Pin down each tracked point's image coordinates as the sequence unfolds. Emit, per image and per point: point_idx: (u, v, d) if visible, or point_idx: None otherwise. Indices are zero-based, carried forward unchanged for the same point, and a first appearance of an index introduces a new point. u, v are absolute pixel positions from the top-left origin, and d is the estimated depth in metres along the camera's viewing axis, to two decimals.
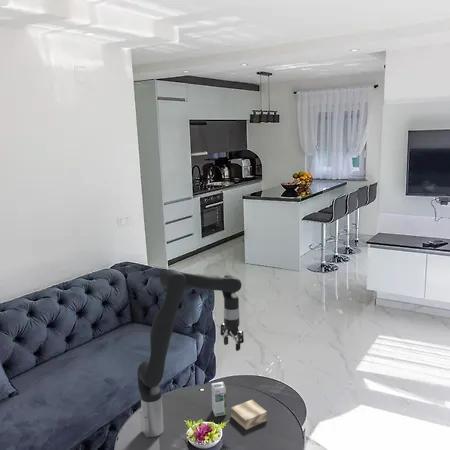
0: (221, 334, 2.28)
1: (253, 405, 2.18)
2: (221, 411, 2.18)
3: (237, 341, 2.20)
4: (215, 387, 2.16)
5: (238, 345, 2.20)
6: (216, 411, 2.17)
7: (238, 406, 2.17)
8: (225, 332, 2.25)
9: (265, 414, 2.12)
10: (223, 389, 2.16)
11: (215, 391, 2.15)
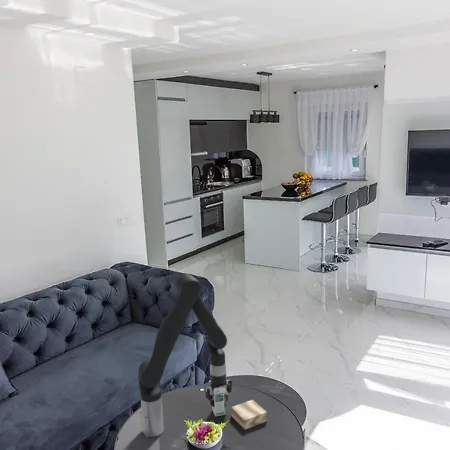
0: (209, 399, 2.15)
1: (254, 405, 2.18)
2: (221, 411, 2.18)
3: (227, 391, 2.20)
4: None
5: (227, 395, 2.21)
6: (216, 411, 2.17)
7: (238, 406, 2.17)
8: None
9: (265, 414, 2.12)
10: (223, 389, 2.16)
11: (215, 391, 2.15)
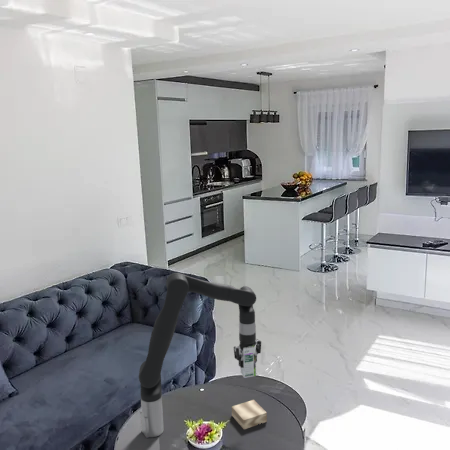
0: (239, 359, 2.05)
1: (254, 405, 2.18)
2: (250, 373, 2.08)
3: None
4: (244, 347, 2.06)
5: (256, 356, 2.11)
6: (245, 372, 2.07)
7: (239, 405, 2.18)
8: None
9: (265, 415, 2.12)
10: (253, 349, 2.06)
11: (244, 351, 2.05)
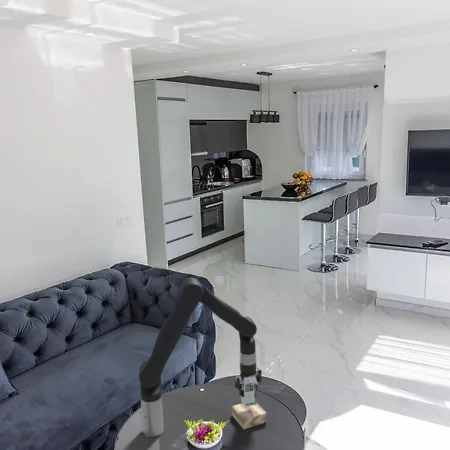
0: (239, 388, 2.08)
1: (254, 405, 2.17)
2: (251, 402, 2.11)
3: (256, 381, 2.13)
4: None
5: None
6: (246, 401, 2.10)
7: (239, 405, 2.18)
8: None
9: (265, 415, 2.11)
10: (253, 378, 2.09)
11: (245, 381, 2.08)
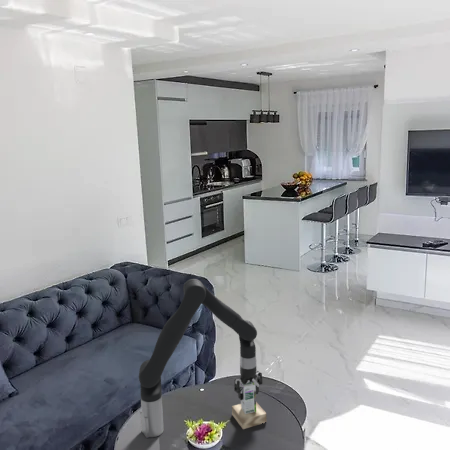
0: (238, 392, 2.08)
1: None
2: (251, 409, 2.11)
3: (258, 383, 2.14)
4: (245, 385, 2.09)
5: (258, 387, 2.15)
6: (246, 409, 2.10)
7: (239, 405, 2.18)
8: None
9: (264, 416, 2.11)
10: (253, 386, 2.09)
11: (245, 389, 2.08)
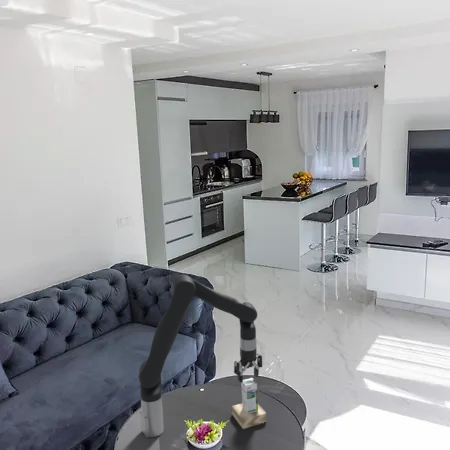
0: (238, 374, 2.06)
1: None
2: (253, 408, 2.12)
3: (258, 366, 2.12)
4: (246, 384, 2.10)
5: None
6: (248, 408, 2.11)
7: (239, 405, 2.18)
8: (245, 367, 2.07)
9: (264, 415, 2.12)
10: (255, 385, 2.10)
11: (247, 388, 2.09)
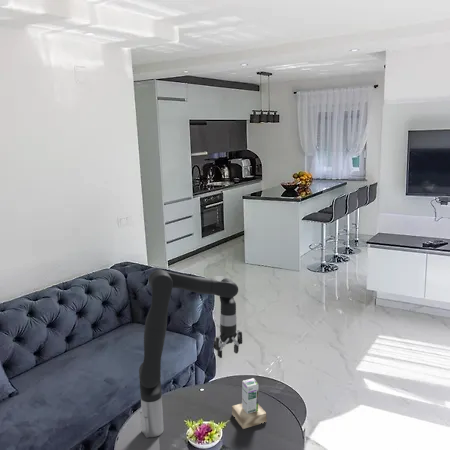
0: (217, 349, 2.08)
1: None
2: (253, 409, 2.12)
3: (238, 343, 2.14)
4: (248, 385, 2.09)
5: (238, 346, 2.15)
6: (248, 409, 2.10)
7: (239, 405, 2.18)
8: (225, 342, 2.09)
9: (264, 415, 2.12)
10: (256, 386, 2.09)
11: (248, 389, 2.08)
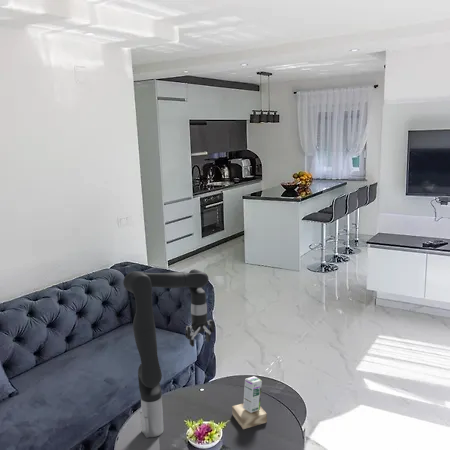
0: (189, 338, 2.14)
1: None
2: (256, 407, 2.12)
3: (209, 331, 2.20)
4: (253, 381, 2.11)
5: None
6: (252, 407, 2.10)
7: (239, 405, 2.18)
8: (196, 331, 2.15)
9: (265, 416, 2.11)
10: (260, 382, 2.12)
11: (253, 385, 2.10)
